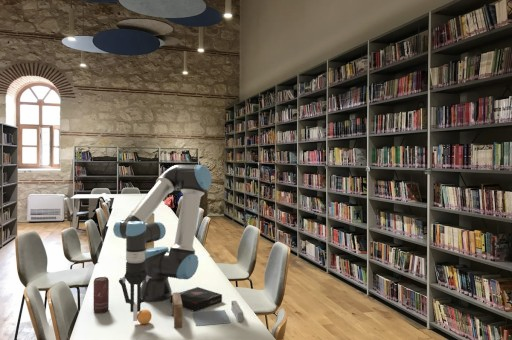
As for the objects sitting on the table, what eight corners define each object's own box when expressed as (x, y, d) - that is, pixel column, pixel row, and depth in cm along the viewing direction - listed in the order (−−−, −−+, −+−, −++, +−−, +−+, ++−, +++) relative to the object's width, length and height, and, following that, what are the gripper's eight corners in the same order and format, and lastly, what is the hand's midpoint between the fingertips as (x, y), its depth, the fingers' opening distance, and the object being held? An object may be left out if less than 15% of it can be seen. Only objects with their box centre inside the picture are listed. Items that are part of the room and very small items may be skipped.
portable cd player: (196, 294, 203) (196, 286, 203) (221, 303, 192) (222, 294, 192) (170, 303, 190) (170, 295, 190) (195, 313, 179) (195, 303, 179)
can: (110, 307, 182) (110, 276, 181) (105, 313, 176) (106, 280, 175) (96, 307, 182) (96, 276, 181) (91, 313, 175) (91, 280, 175)
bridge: (174, 328, 162) (174, 304, 161) (172, 314, 176) (172, 292, 175) (182, 327, 162) (182, 304, 162) (179, 313, 176) (179, 292, 176)
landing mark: (192, 312, 178) (192, 312, 178) (224, 310, 181) (224, 309, 181) (196, 325, 164) (196, 325, 164) (230, 322, 168) (230, 322, 168)
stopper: (231, 309, 182) (231, 300, 182) (235, 309, 182) (236, 300, 182) (238, 322, 168) (238, 312, 168) (242, 321, 169) (243, 312, 169)
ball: (134, 313, 167) (145, 304, 168) (143, 323, 168) (154, 313, 169) (133, 319, 162) (145, 310, 163) (143, 329, 163) (154, 319, 164)
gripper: (117, 263, 159) (117, 324, 160) (152, 262, 162) (151, 322, 163) (119, 259, 166) (119, 317, 167) (153, 257, 169) (152, 314, 170)
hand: (135, 319), depth 165 cm, fingers closed
